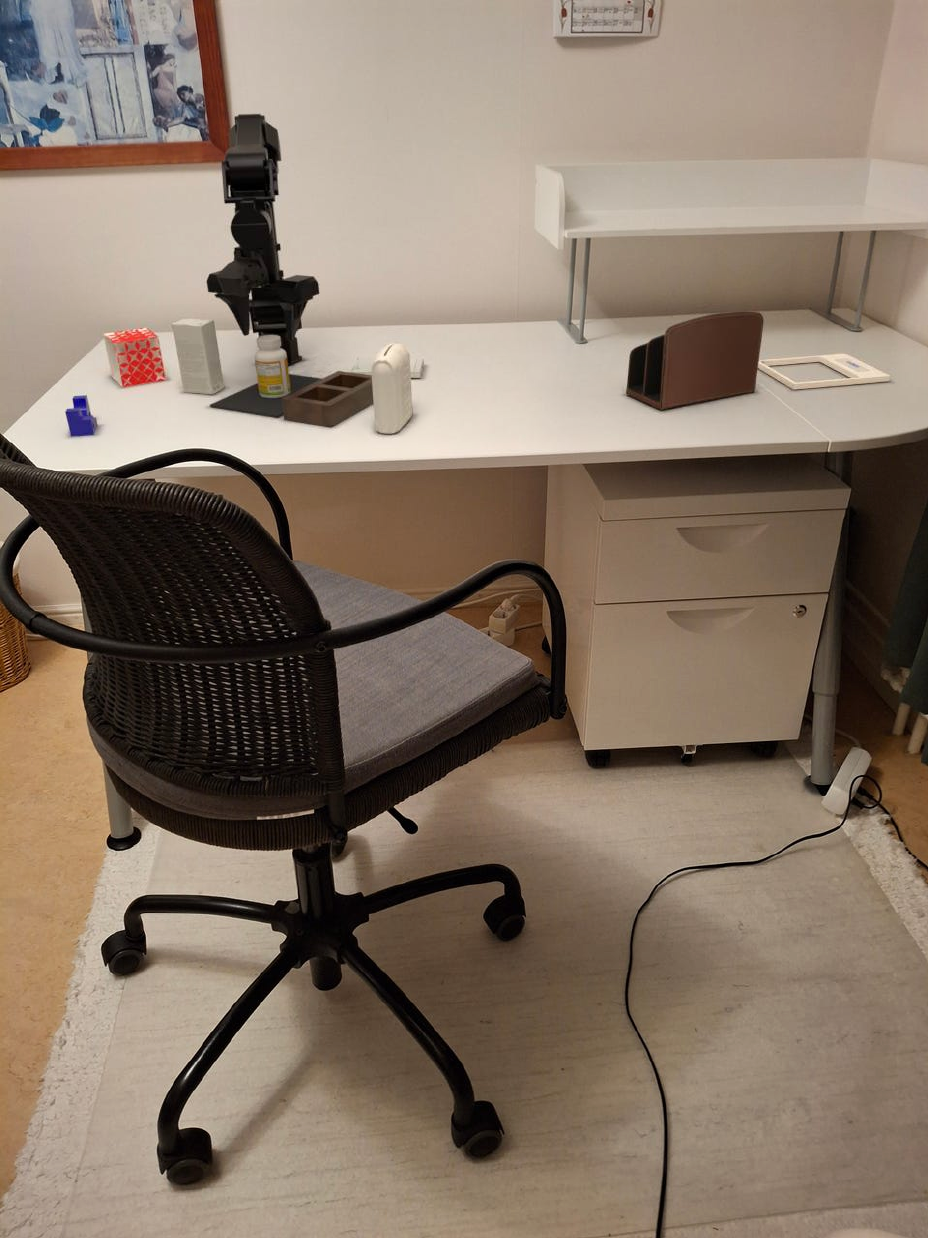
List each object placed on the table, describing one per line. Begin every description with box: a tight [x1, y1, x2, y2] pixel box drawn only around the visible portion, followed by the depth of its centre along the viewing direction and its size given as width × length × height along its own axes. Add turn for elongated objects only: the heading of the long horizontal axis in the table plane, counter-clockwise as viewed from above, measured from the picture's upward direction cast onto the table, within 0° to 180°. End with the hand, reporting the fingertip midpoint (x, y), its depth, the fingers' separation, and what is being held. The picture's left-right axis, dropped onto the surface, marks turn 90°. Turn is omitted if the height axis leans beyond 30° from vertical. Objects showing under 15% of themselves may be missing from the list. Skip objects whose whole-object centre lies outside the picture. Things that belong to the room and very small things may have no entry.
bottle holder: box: [282, 370, 374, 428], centre depth 160 cm, size 9×17×4 cm, turn 154°
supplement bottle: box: [254, 335, 291, 399], centre depth 164 cm, size 5×5×10 cm
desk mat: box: [209, 373, 322, 419], centre depth 167 cm, size 14×20×1 cm
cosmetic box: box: [171, 317, 225, 395], centre depth 167 cm, size 6×4×12 cm
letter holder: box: [625, 311, 765, 411], centre depth 160 cm, size 10×20×14 cm, turn 117°
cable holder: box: [64, 394, 99, 437], centre depth 154 cm, size 8×4×4 cm, turn 10°
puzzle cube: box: [102, 327, 167, 388], centre depth 175 cm, size 8×8×8 cm
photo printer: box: [372, 342, 413, 435], centre depth 150 cm, size 10×4×12 cm, turn 168°
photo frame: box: [758, 353, 891, 390], centre depth 171 cm, size 15×1×18 cm
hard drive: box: [351, 358, 425, 379], centre depth 177 cm, size 2×8×12 cm
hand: (268, 337), depth 161 cm, fingers open, 9 cm apart
